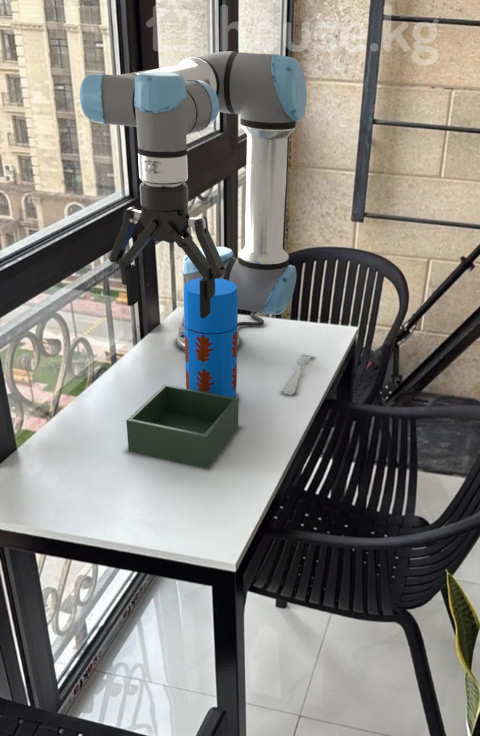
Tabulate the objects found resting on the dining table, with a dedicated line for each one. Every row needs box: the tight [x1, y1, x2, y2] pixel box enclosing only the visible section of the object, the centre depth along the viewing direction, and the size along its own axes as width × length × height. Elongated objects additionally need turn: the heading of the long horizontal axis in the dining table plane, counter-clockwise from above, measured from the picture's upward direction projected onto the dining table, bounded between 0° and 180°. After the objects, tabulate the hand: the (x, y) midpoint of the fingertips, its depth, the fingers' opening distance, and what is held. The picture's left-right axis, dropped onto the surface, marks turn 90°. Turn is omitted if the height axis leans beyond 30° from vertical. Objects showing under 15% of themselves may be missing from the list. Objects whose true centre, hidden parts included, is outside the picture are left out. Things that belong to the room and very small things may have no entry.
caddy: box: [125, 383, 240, 469], centre depth 146 cm, size 16×16×7 cm
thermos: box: [183, 278, 239, 398], centre depth 157 cm, size 11×11×25 cm
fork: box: [282, 355, 312, 396], centre depth 175 cm, size 3×21×3 cm, turn 167°
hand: (168, 309), depth 130 cm, fingers open, 13 cm apart
